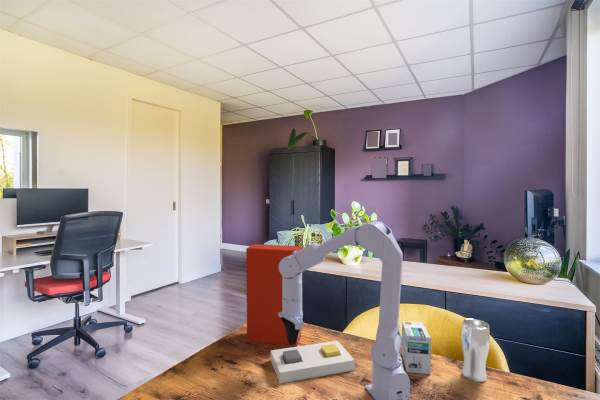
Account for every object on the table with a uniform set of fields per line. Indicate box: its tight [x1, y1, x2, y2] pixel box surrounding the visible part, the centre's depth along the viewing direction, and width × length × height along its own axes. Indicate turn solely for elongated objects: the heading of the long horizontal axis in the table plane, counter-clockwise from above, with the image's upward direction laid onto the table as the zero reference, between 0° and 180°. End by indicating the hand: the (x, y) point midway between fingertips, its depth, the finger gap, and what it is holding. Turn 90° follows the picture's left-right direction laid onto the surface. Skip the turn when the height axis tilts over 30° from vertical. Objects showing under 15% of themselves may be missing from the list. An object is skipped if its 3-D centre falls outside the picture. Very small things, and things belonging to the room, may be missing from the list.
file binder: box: [245, 243, 303, 347], centre depth 110 cm, size 8×17×32 cm, turn 78°
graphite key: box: [283, 349, 301, 364], centre depth 93 cm, size 4×4×3 cm
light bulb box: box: [401, 320, 432, 375], centre depth 95 cm, size 11×7×11 cm, turn 171°
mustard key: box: [321, 344, 340, 358], centre depth 96 cm, size 4×4×3 cm
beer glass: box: [460, 318, 491, 383], centre depth 89 cm, size 7×7×15 cm
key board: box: [270, 340, 356, 384], centre depth 95 cm, size 12×22×3 cm, turn 107°
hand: (292, 343), depth 93 cm, fingers closed
